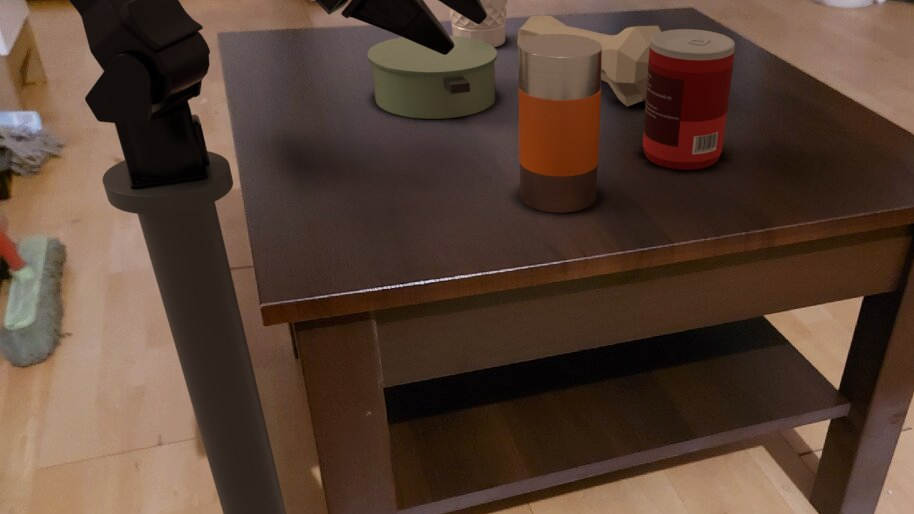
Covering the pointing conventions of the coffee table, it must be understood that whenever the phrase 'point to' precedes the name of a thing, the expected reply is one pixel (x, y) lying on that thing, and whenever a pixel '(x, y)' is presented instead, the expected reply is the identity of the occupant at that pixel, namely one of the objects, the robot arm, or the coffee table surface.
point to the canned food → (687, 97)
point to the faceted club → (609, 54)
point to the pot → (433, 78)
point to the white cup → (488, 29)
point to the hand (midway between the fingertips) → (468, 34)
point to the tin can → (559, 121)
